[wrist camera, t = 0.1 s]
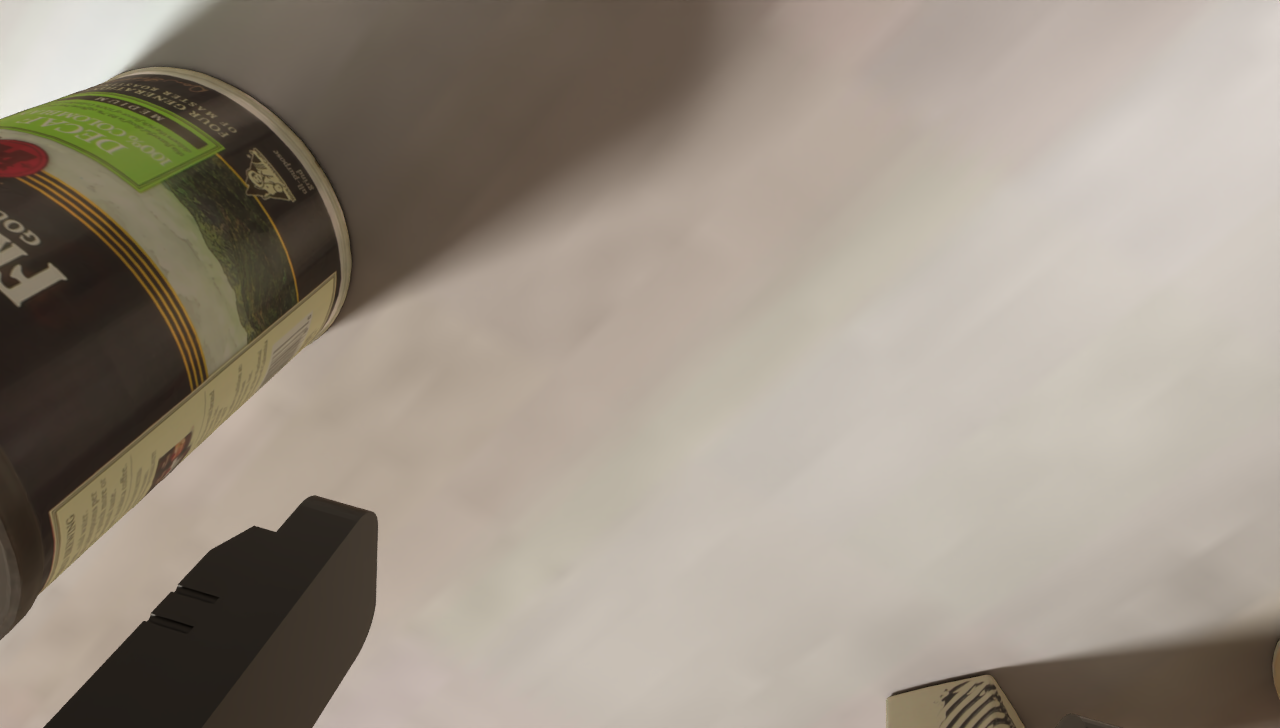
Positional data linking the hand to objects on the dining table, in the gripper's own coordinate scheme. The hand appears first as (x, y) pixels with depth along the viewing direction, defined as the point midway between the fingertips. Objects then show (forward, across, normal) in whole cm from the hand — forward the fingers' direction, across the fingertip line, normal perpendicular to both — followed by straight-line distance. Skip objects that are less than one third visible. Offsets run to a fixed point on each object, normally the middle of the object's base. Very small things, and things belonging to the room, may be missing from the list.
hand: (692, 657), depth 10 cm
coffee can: (+18, +18, +6) cm, 26 cm away
